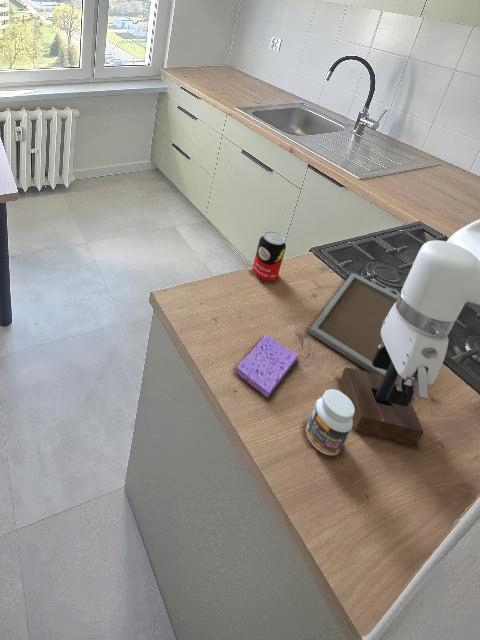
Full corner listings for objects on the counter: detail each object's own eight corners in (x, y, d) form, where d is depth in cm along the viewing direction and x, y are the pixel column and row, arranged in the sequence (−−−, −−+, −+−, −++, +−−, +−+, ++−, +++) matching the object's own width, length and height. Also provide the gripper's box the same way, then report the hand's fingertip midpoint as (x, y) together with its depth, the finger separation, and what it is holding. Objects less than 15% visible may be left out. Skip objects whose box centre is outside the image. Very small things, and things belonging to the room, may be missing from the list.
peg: (376, 407, 79) (400, 360, 74) (380, 416, 78) (404, 368, 72) (367, 405, 79) (390, 358, 74) (370, 413, 78) (393, 366, 73)
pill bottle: (303, 444, 72) (318, 407, 68) (307, 415, 77) (321, 379, 73) (340, 464, 70) (358, 427, 66) (341, 433, 74) (358, 397, 70)
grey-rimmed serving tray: (309, 328, 93) (355, 267, 112) (308, 333, 94) (354, 272, 113) (410, 392, 80) (443, 311, 99) (407, 397, 81) (440, 316, 100)
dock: (393, 392, 82) (400, 379, 80) (416, 446, 73) (424, 431, 71) (339, 380, 84) (345, 366, 82) (355, 430, 75) (361, 416, 73)
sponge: (234, 372, 84) (236, 366, 83) (265, 338, 92) (267, 332, 91) (267, 399, 79) (269, 392, 79) (296, 360, 87) (298, 354, 87)
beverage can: (249, 264, 114) (258, 228, 109) (273, 267, 113) (283, 231, 108) (254, 280, 108) (264, 243, 103) (279, 284, 107) (290, 247, 102)
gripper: (482, 364, 60) (435, 440, 67) (425, 278, 75) (392, 348, 82) (423, 351, 61) (383, 427, 68) (379, 270, 77) (350, 339, 84)
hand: (388, 383), depth 75 cm, fingers open, 6 cm apart
